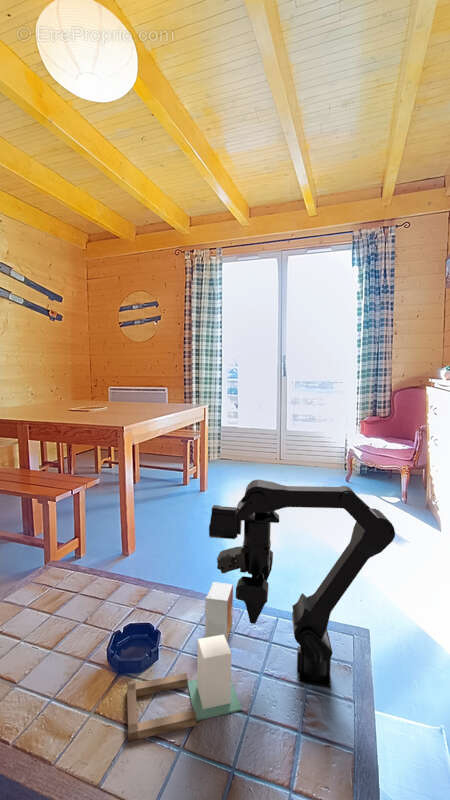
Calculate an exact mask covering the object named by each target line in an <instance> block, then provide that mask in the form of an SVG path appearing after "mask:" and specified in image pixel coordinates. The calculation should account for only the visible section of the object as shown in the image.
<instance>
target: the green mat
mask: <svg viewBox="0 0 450 800" xmlns="http://www.w3.org/2000/svg"><path fill="white" fill-rule="evenodd" d="M187 689H188V694H189V697H190V701H191V707H192V710H195V713H196V722H198V721H202V720H206V719H211V718H214V717H219V716H223V715H228V714H231V713H235V712H240V711H243V708H242V705H241V703H240V700H239V697H238V694H237V692H236V689H235V686H234V684H233V681H232V680H231V703H229V704H224V705H220V706H216V707H211V708H207V709H203V708H202V704H201V700H200V696H199V692H198V688H197V679H194V680H189V681H188V686H187Z"/></svg>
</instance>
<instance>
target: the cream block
mask: <svg viewBox="0 0 450 800" xmlns="http://www.w3.org/2000/svg"><path fill="white" fill-rule="evenodd" d="M232 656H233V655H232V651H231V649H230V646H229V643H228V641H226V639H225V636H224V635H218V636H212V637H207V638H205V637H202V638H198V639H197V660H196V661H197V662H196V664H197V667H196V668H197V669H196V671H197V672H196V674H197V675H196V677H197V678H196V680H197V688H198V692H199V696H200V700H201V704H202V708H203V709H207V708H211V707H216V706H220V705H224V704H229V703H231V681H232Z"/></svg>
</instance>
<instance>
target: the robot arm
mask: <svg viewBox="0 0 450 800" xmlns="http://www.w3.org/2000/svg"><path fill="white" fill-rule="evenodd" d="M244 491H245V492H244V495H243V497H242V498H240V500H239V501H238V503H237V505H236V507H234V506H222V505H216V504H214V505H212V507H211V514H210V523H209V525H208V536H209V538H212V539H227V540H237V538H238V536H239V535H242V521H243V523H244V524H243V542H242V545H240V546H235V547H230V548H228V549H227V548H225V549H224V550H221V551H220V552H219V553H218V555H217V558H216V562H217V566H216V568H217V569H218V570H220V573H221V574H227V573H228V572H232V571H235V570H236V571H237V570H239V573H244V574H246V573H247V574H249V575H251V576H245V575H244V576H241V577H240V578H239V579H238V580H237V584H236V586H235V599H236V600H238V601H241V602H244V604H245V608H246V611H247V616H248V621H249V623H250V624H253V625H255V624H256V623H257V621H258V619H259V618H260V615H261V613H262V611H263V609H264V607H265V605H266V603H268V597H269V585H270V584H269V583H268V579H269V576H270V574H271V572H272V567H273V562H274V552H273V551H272V550H271V546H272V545H271V544H272V542H271V525H272V523H274V524H276V523H277V524H278V523H280V514H278V513H277V512H276V511H278V510H281V509H286V508H305V509H306V508H308V509H309V508H311V509H312V508H317V509H344V510H345V511H346V512H347V513H348V514H349V515H350V516H351V517H352V518H353V520H354V521H355V524H354V526H353V529H352V533H351V538H350V541H349V543H348V545H347V546H346V547H345V549H344V551H342V553H341V555H340V556H339V557H338V558H337V560H336V562H335V563H334V565H333V566H332V567H331V569H330V570H329V572H328V573H327V575H326V576H325V578H324V579H323V580H322V582H321V583H320V585H319V586H318V588H317V589H316V590H315V592H314V593H313V594H311V595H308V596H306V595H305V594H304V593H301V594H300V596H299V598H298V600H297V602H295V603H294V604H293V605H292V606H291V607H292V614H291V616H292V617H291V619H292V629H293V635H294V639H295V641H296V643H297V644H298V646H297V652H296V656H297V657H296V672H297V673H298V675H299V676H298V679H299V680H298V681H299V682H300V683H301V684H308V685H313V686H320V687H323V688H324V687H325V688H331V687H332V680H331V679H332V678H331V664H332V663H331V661H332V660H331V659H332V656H333V649H332V644H331V640H330V635H329V632H328V626H329V622H330V621H329V620H330V617H331V614H332V611H333V610H334V609H335V607H336V606H337V604H338V603H339V602H340V600H341V599H342V597H343V596H344V594H345V593H346V592H347V590H348V589H349V587H350V586H351V585H352V583H353V581H354V580H355V579H356V578H357V576H358V575H359V573H360V572H361V570H362V569H363V568H364V566H365V565H366V563H367V561H369V559H370V558H373V557H375V556H376V555H379V554H380V553H382V552H383V551H384V550H386V548H387V547H389V545H390V544H392V542H393V541H394V539H395V537H396V531H395V526H394V525H393V524H392V522H391V521H390V520H389V519H388V517H386V516H385V515H384V514H383V512H382V511H380V510H378V509H377V508H371V507H370V506H369V505H368V504H367V503H366V502H365V501H363V500H362V498H360V497H359V496H358V495H357V494H356V493H355V491H354V490H353V489H352V488H351V487H349V486H347V485H341V486H307V485H305V486H303V485H302V486H296V485H295V486H294V485H284V484H283V485H282V484H280V483H276V482H274V481H269V480H264V479H254V480H251V481H250V482H249V483H248V484H247V486H246V488H245V490H244Z"/></svg>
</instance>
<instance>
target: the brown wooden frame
mask: <svg viewBox="0 0 450 800" xmlns="http://www.w3.org/2000/svg"><path fill="white" fill-rule="evenodd" d="M188 680H189V679H188V673H187V672H185V673H180V674H176V675H170V676H165V677H159V678H154V679H150V680H145V681H140V682H135V683H129V684H127V685H126V693H127V694H126V697H127V698H126V699H127V702H126V703H127V732H128V733H127V737H128V738H127V740H128V742H132V741H137V740H141V739H146V738H149V737H152V736H158V735H162V734H165V733H169V732H174V731H178V730H183V729H187V728H190V727H191V728H192V727H195V726H197V721H196V713H195V710H193V709H192V710H189V711H183V712H179V713H175V714H172V715H167V716H166V715H165V716H163V717H158V718H152V719H149V720H148V719H147V720H145V721H141V722H138V708H137V707H138V705H137V704H138V703H137V697H141V696H145V695H151V694H155V693H161V692H164V691H166V692H167V691H171V690H175V689H179V688H180V689H181V688H184V687H185V688H186V687H188Z"/></svg>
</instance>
